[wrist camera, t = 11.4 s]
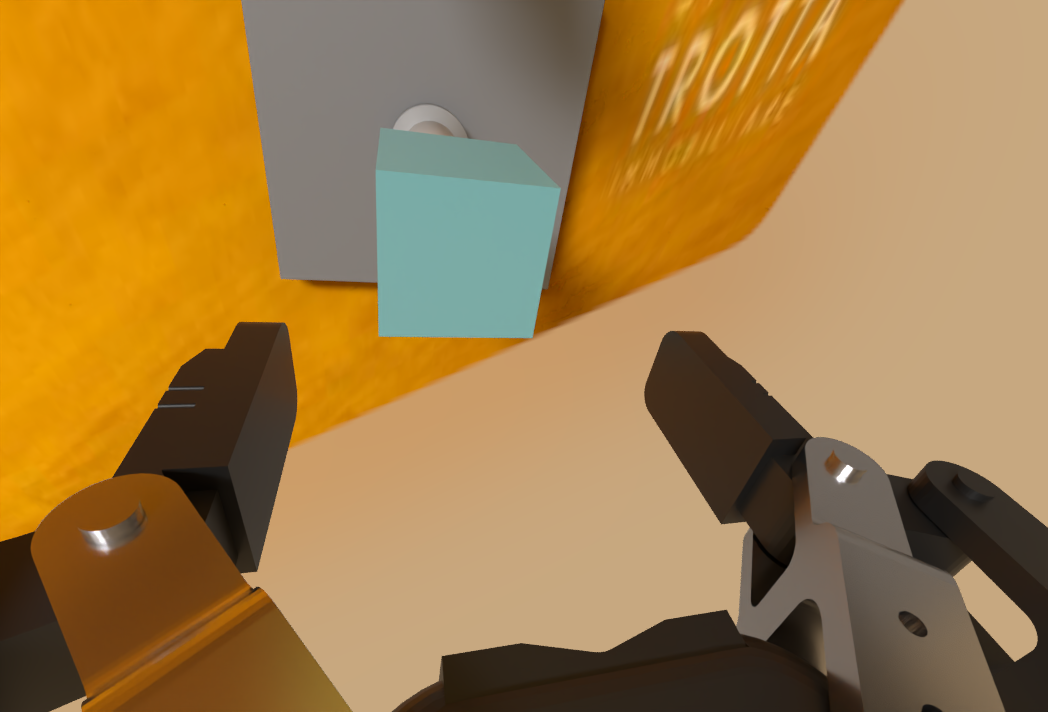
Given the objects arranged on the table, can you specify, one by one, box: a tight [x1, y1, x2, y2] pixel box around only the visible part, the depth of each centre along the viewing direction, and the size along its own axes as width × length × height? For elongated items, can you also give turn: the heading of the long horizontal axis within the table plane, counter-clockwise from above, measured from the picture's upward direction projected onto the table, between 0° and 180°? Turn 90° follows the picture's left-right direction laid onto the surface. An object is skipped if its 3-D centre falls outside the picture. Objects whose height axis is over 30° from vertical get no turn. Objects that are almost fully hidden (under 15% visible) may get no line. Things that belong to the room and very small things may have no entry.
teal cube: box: [376, 128, 561, 338], centre depth 16 cm, size 5×5×6 cm
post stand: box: [241, 0, 605, 289], centre depth 22 cm, size 18×18×18 cm
